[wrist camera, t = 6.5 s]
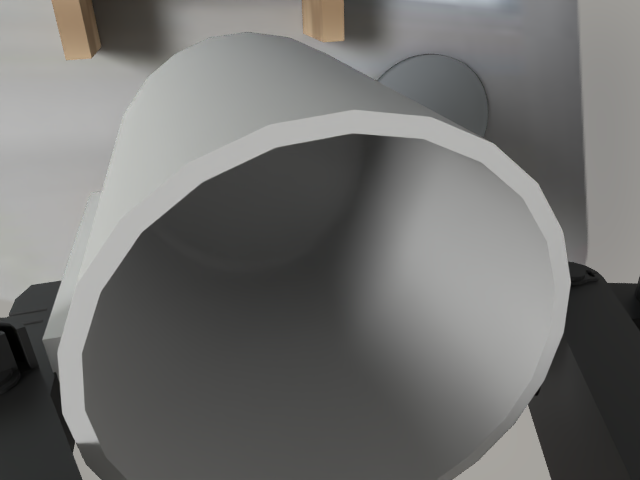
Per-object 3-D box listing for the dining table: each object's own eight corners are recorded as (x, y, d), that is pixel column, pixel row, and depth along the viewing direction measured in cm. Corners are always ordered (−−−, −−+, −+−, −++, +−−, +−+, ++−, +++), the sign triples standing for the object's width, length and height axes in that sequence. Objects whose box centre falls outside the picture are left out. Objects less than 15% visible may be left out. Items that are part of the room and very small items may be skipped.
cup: (343, -6, 14) (571, 28, 6) (403, 297, 19) (569, 528, 11) (65, 75, 13) (-80, 234, 5) (205, 369, 18) (236, 672, 10)
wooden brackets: (57, -47, 24) (39, -50, 20) (319, -55, 26) (343, -59, 23) (125, 250, 30) (120, 286, 27) (327, 221, 33) (346, 250, 30)
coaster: (358, 59, 29) (361, 60, 29) (489, 49, 31) (495, 50, 30) (358, 195, 33) (361, 198, 32) (475, 179, 34) (480, 182, 34)
